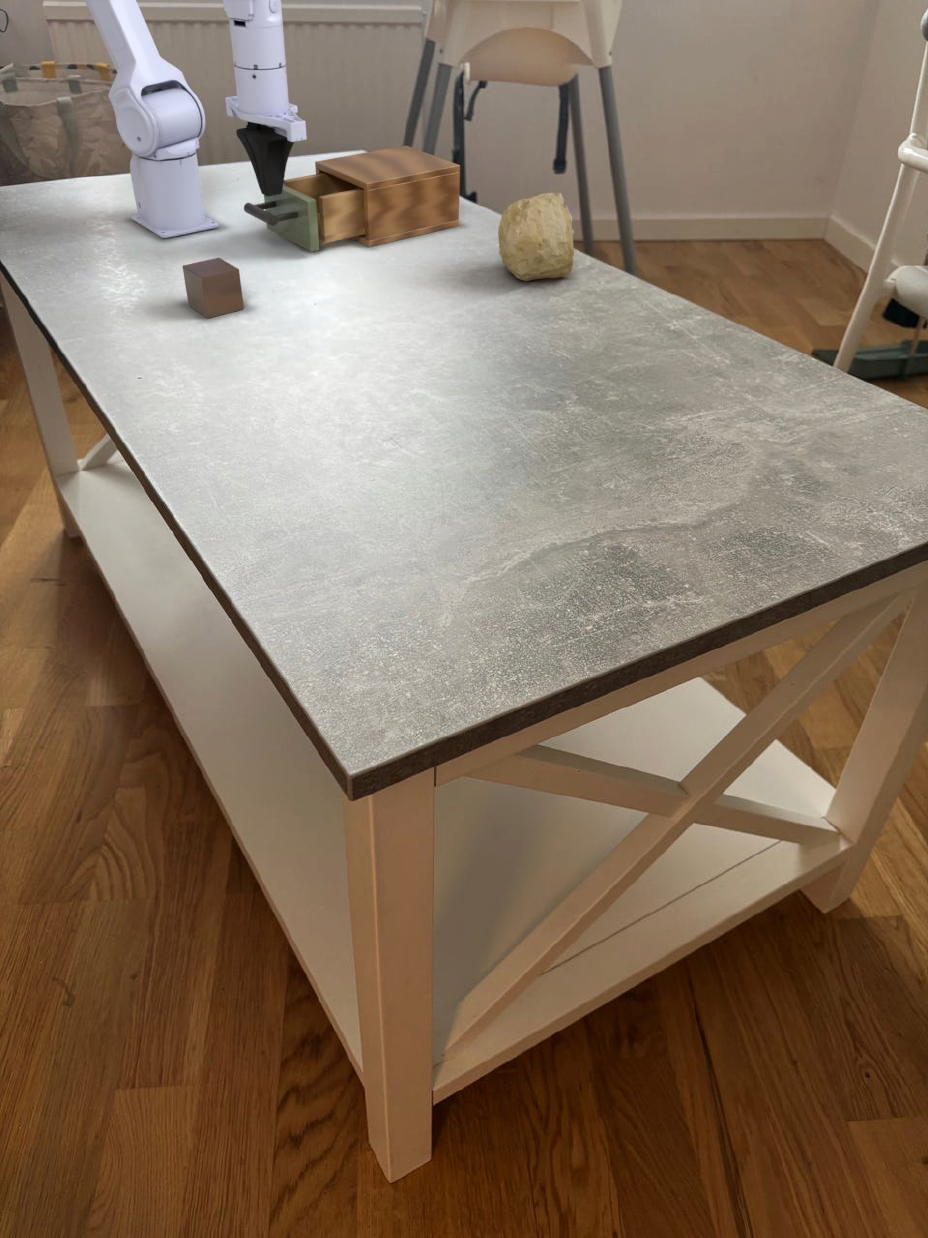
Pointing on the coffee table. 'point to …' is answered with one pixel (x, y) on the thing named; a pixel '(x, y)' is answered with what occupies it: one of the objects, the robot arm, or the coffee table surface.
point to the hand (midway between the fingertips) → (271, 193)
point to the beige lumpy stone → (537, 237)
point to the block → (213, 287)
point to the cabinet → (400, 192)
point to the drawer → (313, 210)
